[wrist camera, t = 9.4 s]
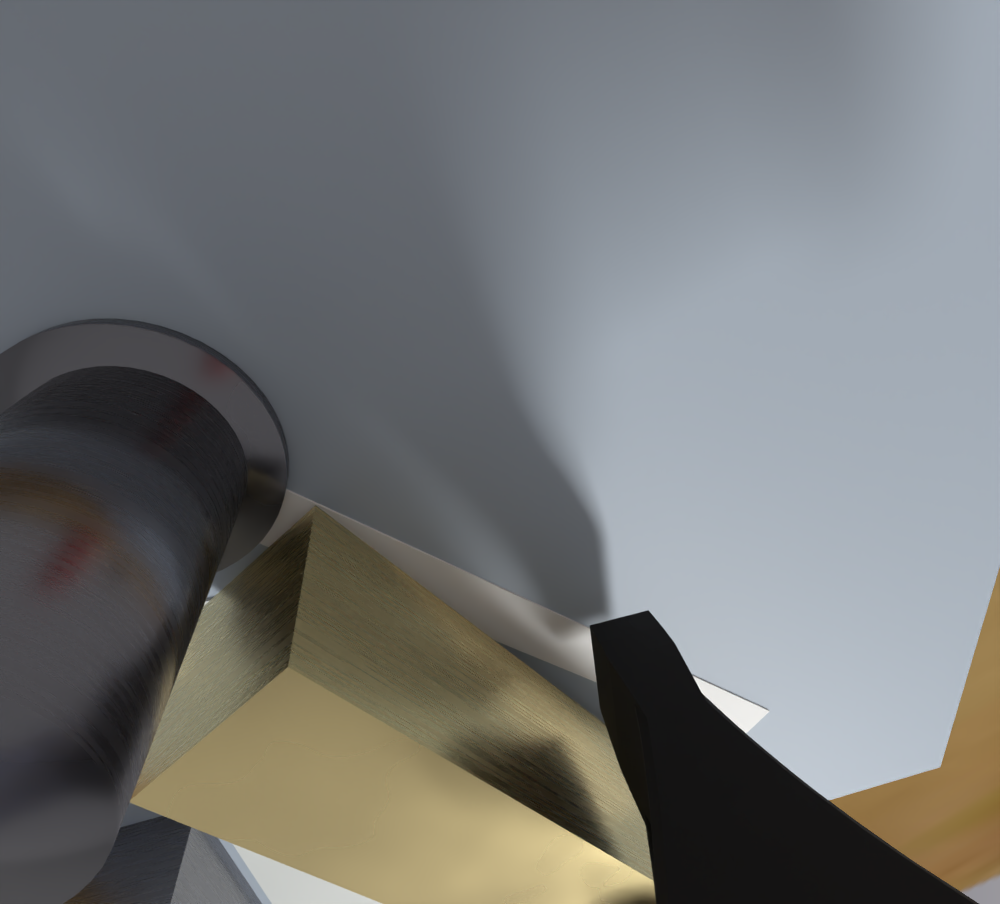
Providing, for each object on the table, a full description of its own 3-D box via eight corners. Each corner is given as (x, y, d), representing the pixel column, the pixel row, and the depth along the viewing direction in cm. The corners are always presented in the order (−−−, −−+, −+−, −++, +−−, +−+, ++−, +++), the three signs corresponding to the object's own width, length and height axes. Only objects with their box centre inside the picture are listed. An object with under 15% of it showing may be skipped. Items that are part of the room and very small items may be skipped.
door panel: (196, 965, 14) (189, 993, 14) (-546, 93, 6) (-628, 88, 5) (924, 749, 16) (941, 768, 15) (1174, -175, 7) (1229, -196, 7)
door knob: (66, 599, 9) (-241, 1045, 4) (-97, 355, 7) (-880, 697, 3) (323, 537, 9) (274, 895, 5) (231, 289, 7) (16, 496, 3)
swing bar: (202, 607, 9) (78, 934, 5) (315, 504, 8) (268, 782, 5) (590, 837, 13) (672, 1101, 10) (676, 777, 13) (797, 1030, 9)
